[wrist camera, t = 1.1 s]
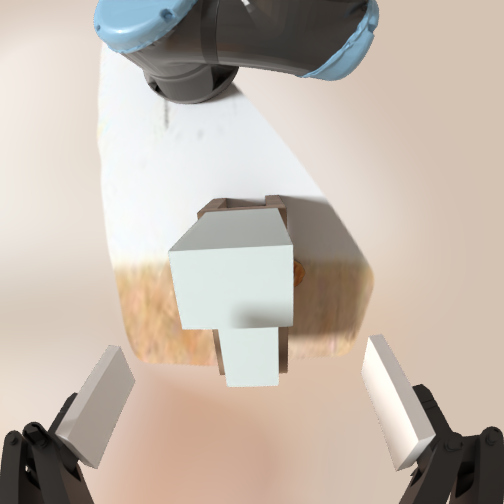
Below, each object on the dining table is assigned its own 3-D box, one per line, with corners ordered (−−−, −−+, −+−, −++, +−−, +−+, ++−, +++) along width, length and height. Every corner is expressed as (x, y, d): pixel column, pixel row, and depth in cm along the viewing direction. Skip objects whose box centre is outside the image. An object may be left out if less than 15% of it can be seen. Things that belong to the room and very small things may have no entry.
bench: (213, 198, 42) (197, 212, 31) (278, 195, 42) (286, 207, 30) (227, 331, 50) (220, 374, 38) (281, 328, 49) (287, 372, 38)
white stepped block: (205, 212, 31) (168, 251, 17) (277, 208, 30) (292, 244, 17) (226, 370, 38) (215, 448, 25) (280, 368, 38) (287, 447, 24)
